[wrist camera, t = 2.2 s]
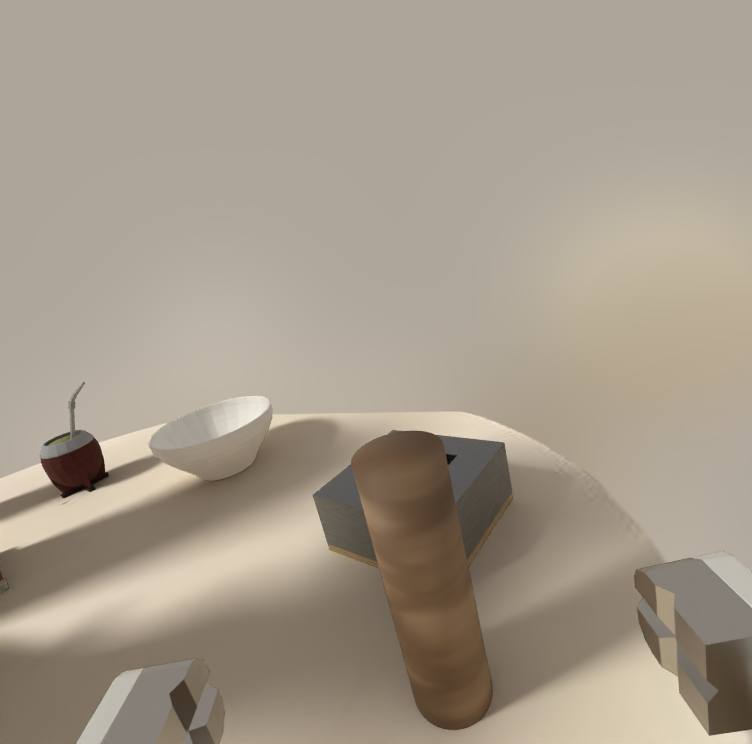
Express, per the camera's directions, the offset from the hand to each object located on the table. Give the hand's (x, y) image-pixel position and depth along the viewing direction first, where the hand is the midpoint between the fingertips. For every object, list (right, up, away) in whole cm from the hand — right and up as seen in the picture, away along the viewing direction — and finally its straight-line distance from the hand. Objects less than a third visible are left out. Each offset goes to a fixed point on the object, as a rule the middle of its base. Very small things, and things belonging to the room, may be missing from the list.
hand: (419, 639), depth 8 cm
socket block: (+3, -8, +31) cm, 32 cm away
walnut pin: (+4, -13, +17) cm, 21 cm away
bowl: (-21, -8, +52) cm, 57 cm away
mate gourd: (-43, -12, +57) cm, 72 cm away
